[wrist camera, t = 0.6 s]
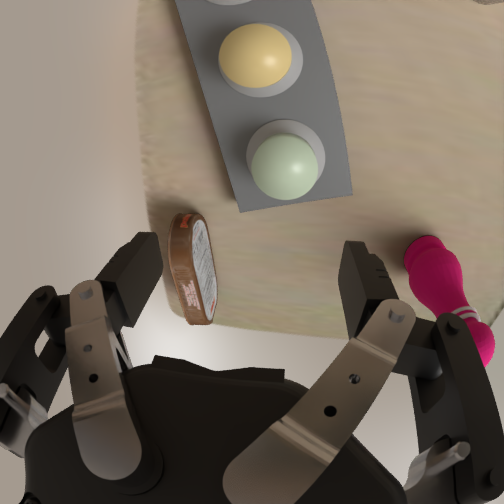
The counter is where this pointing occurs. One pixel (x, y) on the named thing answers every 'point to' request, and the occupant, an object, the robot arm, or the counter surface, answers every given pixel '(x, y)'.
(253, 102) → the button panel
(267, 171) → the sage button
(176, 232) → the tin
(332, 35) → the counter surface
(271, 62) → the ochre button
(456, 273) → the pepper mill
